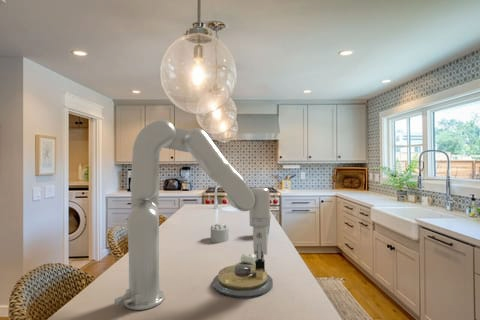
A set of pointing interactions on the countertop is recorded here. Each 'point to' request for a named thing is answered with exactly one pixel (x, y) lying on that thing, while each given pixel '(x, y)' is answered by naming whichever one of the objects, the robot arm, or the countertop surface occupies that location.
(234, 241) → the countertop surface
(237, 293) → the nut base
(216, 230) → the lumpy-topped squat cylinder
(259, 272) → the lugged brass disc
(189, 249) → the countertop surface
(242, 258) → the pipe fitting
